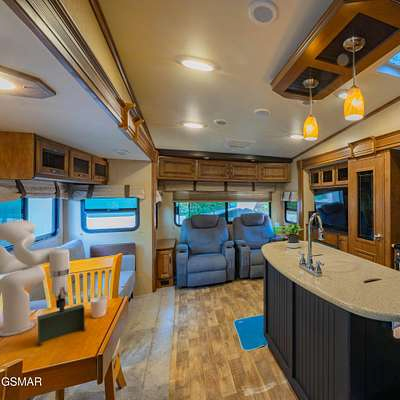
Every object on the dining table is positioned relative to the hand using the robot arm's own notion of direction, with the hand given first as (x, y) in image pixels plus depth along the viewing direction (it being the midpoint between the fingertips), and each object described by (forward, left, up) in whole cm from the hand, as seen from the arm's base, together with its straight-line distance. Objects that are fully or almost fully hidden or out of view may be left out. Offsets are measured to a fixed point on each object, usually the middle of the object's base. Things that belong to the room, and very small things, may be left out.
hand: (60, 306), depth 129 cm
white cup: (-9, +18, -15) cm, 25 cm away
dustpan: (+3, 0, -15) cm, 15 cm away
